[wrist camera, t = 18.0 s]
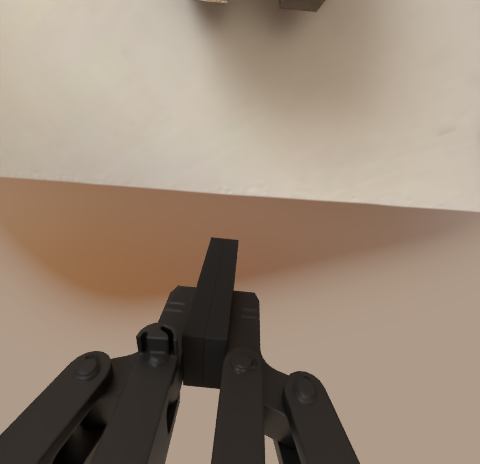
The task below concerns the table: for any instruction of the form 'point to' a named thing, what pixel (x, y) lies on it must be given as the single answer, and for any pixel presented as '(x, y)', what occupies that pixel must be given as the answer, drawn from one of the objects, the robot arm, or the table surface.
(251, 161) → the table surface
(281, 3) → the black key
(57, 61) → the table surface
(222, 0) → the ivory key
